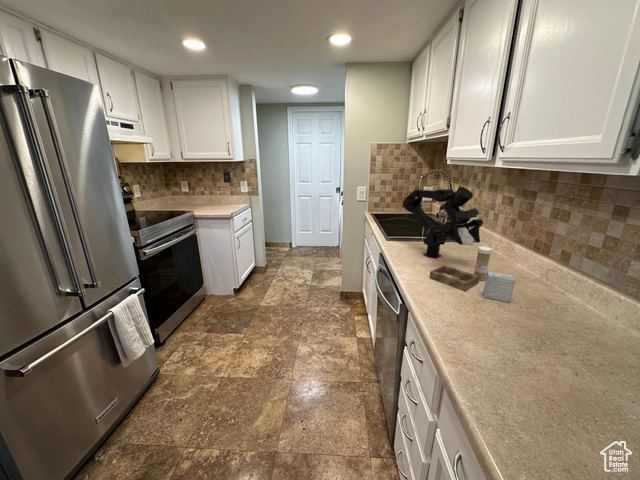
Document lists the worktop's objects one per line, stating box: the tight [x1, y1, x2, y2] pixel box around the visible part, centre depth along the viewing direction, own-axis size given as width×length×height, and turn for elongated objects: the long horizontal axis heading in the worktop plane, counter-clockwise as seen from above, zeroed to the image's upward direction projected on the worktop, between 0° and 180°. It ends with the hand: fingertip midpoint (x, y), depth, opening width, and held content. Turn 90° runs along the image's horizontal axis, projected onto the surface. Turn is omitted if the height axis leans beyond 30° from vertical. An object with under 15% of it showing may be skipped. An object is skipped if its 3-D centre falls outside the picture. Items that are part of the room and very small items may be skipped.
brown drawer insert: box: [429, 264, 480, 292], centre depth 107 cm, size 15×11×3 cm
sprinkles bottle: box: [473, 245, 493, 282], centre depth 107 cm, size 5×5×13 cm
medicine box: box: [482, 271, 516, 303], centre depth 93 cm, size 8×4×9 cm, turn 65°
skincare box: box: [458, 217, 478, 246], centre depth 151 cm, size 8×7×16 cm
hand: (470, 243), depth 111 cm, fingers open, 9 cm apart
